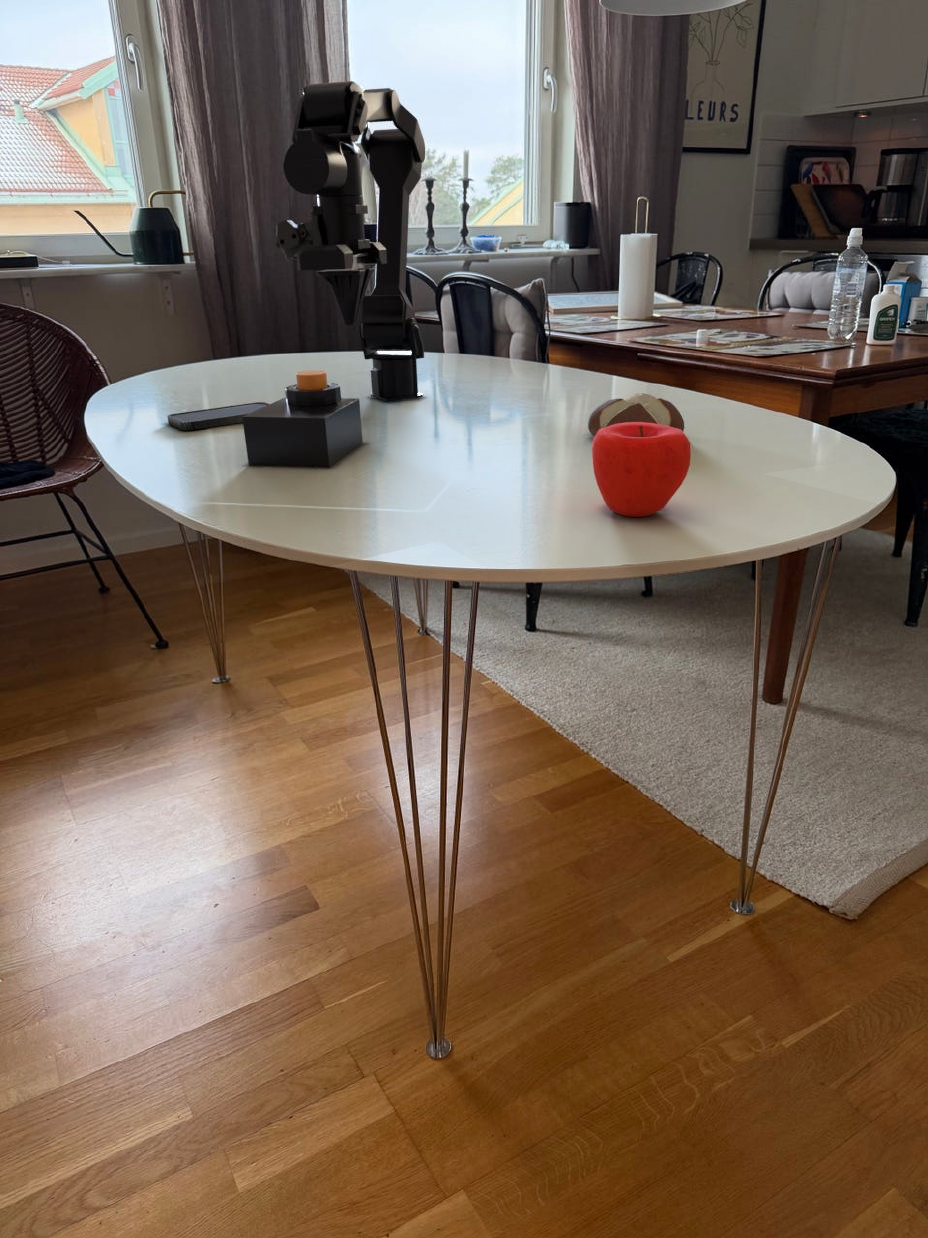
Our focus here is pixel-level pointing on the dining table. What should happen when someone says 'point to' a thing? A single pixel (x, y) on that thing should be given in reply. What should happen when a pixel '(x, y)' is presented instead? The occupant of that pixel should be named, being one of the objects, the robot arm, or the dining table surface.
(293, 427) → the black switch box
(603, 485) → the apple
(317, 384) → the button
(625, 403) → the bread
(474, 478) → the dining table surface
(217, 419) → the phone
